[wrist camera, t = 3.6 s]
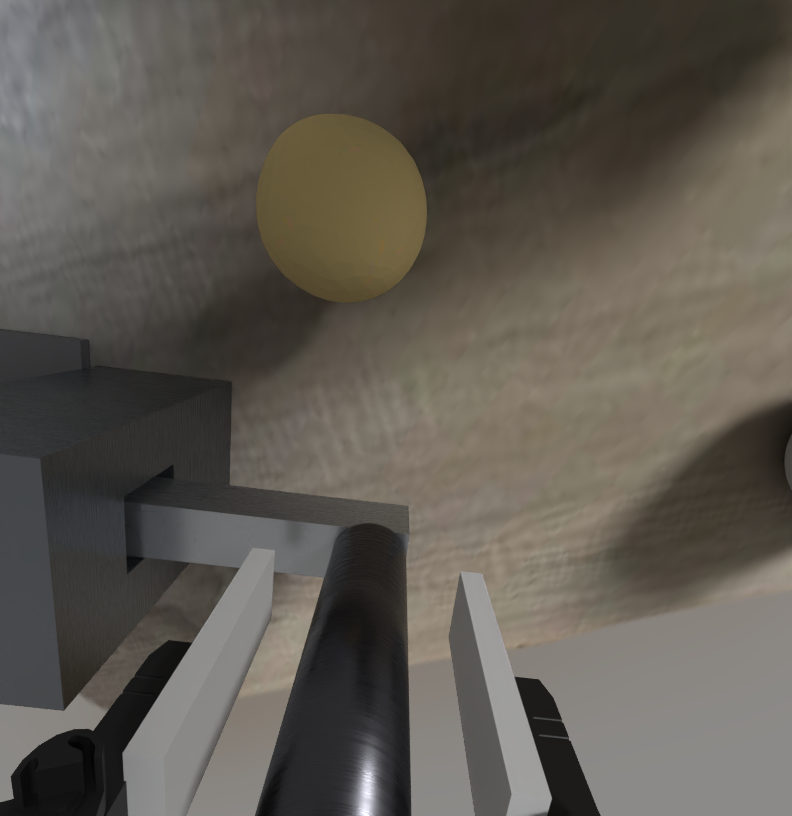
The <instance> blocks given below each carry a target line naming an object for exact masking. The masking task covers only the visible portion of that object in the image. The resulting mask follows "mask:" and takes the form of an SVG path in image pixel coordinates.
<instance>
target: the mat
mask: <svg viewBox="0 0 792 816" xmlns="http://www.w3.org/2000/svg"><path fill="white" fill-rule="evenodd" d="M89 367H90V361H89V344H88V340H87V339H78V338H70V337H62V336H53V335H45V334H37V333H28V332H20V331H12V330H4V329H0V383H1V382H7V381H13V380H19V379H25V378H31V377H36V376H42V375H48V374H54V373H60V372H66V371H71V370H77V369H83V368H89Z"/></svg>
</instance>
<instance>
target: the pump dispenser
mask: <svg viewBox="0 0 792 816" xmlns="http://www.w3.org/2000/svg"><path fill="white" fill-rule="evenodd" d="M784 463H785V473H786V477H787V481H788V484H789V486H790V488H791V490H792V434H791V436H790V438H789V441H788V444H787V447H786V451H785V462H784Z"/></svg>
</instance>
